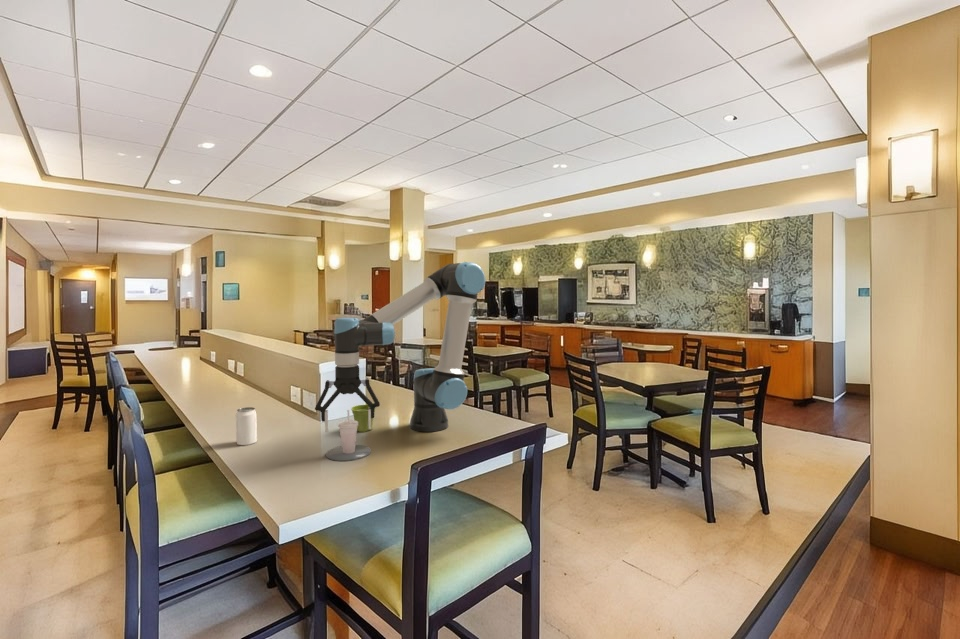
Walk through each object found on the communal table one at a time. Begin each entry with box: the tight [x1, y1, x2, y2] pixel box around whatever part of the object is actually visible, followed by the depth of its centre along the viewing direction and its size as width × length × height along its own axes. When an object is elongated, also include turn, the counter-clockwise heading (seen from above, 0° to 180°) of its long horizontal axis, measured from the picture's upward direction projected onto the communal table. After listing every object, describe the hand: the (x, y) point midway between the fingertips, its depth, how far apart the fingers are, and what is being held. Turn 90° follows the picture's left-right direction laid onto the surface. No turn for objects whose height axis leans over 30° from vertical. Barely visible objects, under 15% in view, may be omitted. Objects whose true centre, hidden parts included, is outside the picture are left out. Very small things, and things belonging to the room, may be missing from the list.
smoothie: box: [337, 409, 358, 454], centre depth 152 cm, size 6×6×14 cm
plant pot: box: [350, 404, 377, 433], centre depth 178 cm, size 9×9×9 cm
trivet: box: [326, 444, 372, 462], centre depth 152 cm, size 14×14×1 cm
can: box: [235, 406, 258, 446], centre depth 162 cm, size 6×6×12 cm
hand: (348, 429), depth 152 cm, fingers open, 13 cm apart
